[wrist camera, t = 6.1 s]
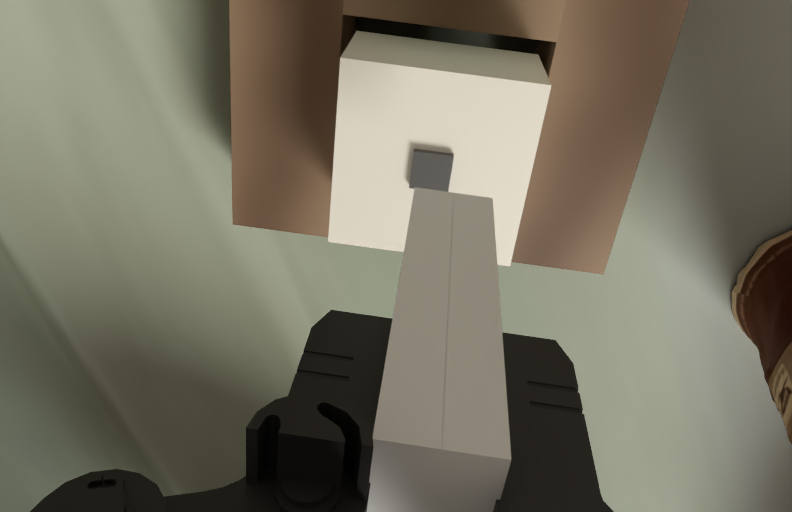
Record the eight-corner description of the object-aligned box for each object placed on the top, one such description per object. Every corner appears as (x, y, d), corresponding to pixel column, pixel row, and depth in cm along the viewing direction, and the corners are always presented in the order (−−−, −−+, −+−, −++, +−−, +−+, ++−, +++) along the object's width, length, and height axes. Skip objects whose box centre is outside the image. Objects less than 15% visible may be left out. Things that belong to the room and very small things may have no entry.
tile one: (343, 195, 21) (326, 245, 18) (356, 30, 18) (338, 59, 16) (503, 216, 21) (510, 270, 18) (538, 54, 18) (552, 88, 16)
